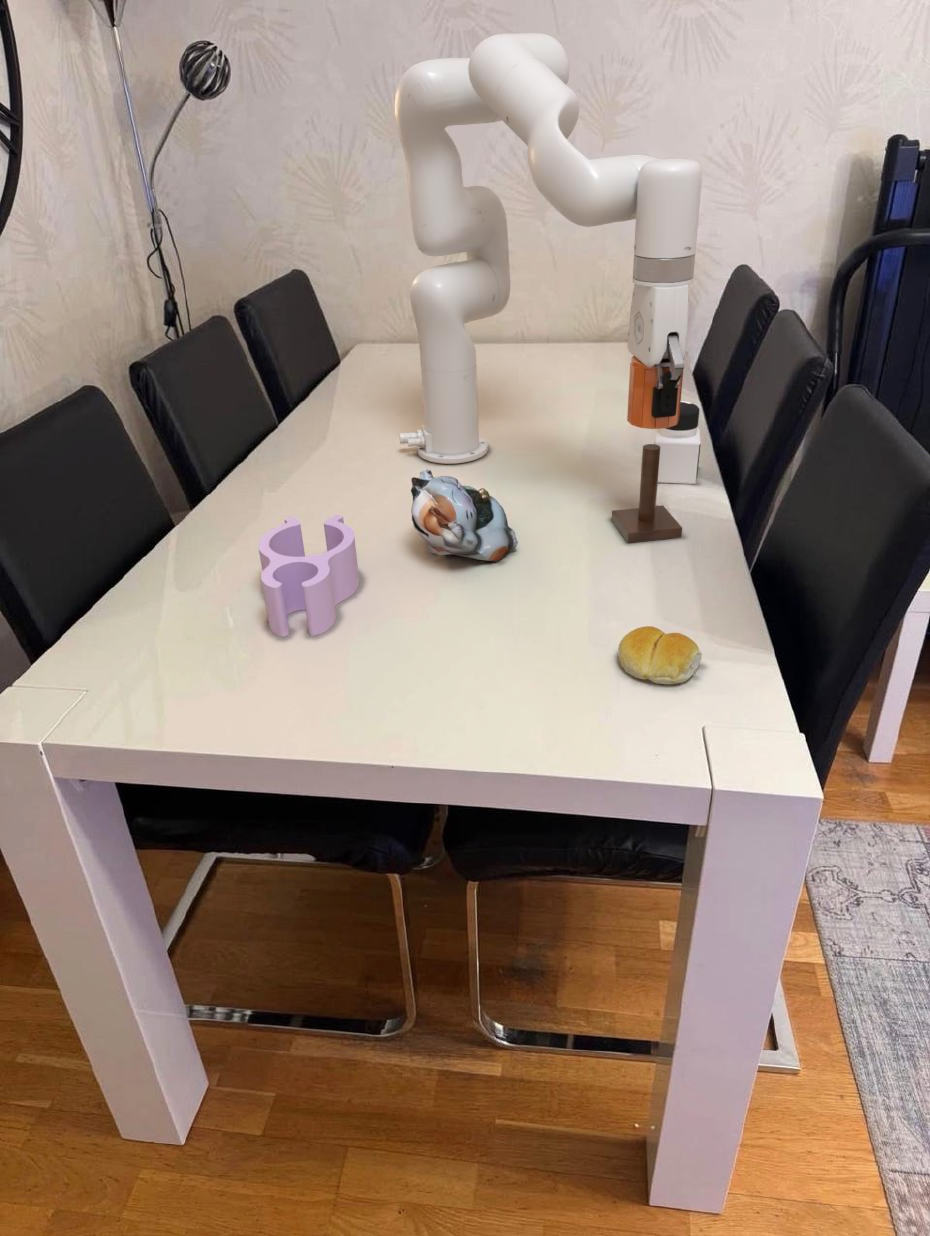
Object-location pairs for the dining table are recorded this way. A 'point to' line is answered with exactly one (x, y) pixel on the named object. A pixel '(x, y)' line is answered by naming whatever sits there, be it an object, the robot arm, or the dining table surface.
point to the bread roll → (659, 655)
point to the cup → (647, 397)
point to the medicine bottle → (680, 447)
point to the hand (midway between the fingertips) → (653, 406)
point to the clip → (307, 574)
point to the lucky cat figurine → (460, 519)
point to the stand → (647, 507)
